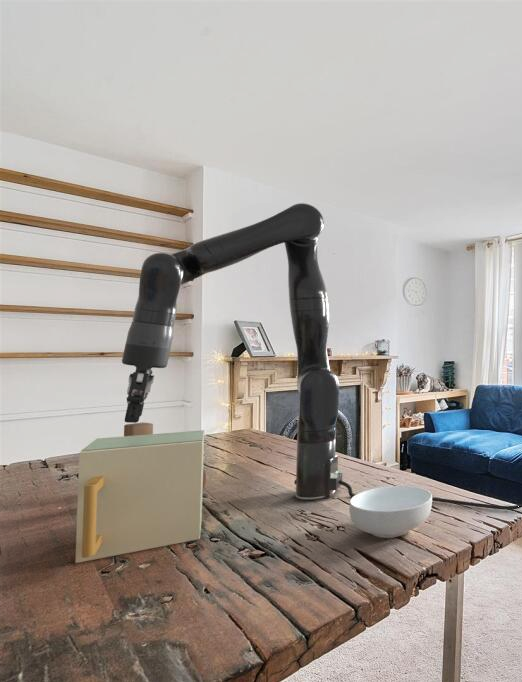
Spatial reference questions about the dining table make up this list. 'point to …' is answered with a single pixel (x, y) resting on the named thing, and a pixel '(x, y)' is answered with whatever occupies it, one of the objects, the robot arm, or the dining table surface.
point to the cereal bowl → (390, 510)
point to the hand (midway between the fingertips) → (133, 419)
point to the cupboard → (149, 440)
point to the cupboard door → (138, 498)
